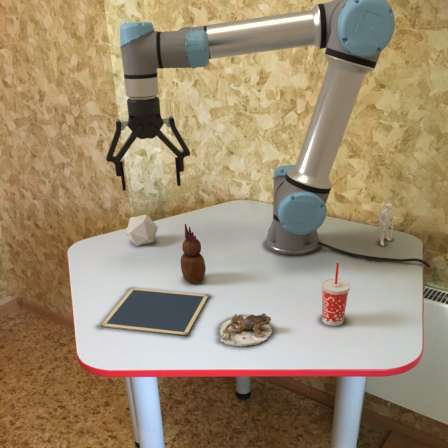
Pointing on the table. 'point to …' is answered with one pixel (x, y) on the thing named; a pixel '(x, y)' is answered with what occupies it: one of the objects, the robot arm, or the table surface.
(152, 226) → the die
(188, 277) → the wooden figurine
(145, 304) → the framed chalkboard
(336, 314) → the beverage cup
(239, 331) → the frog figurine
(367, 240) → the table surface
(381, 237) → the action figure
